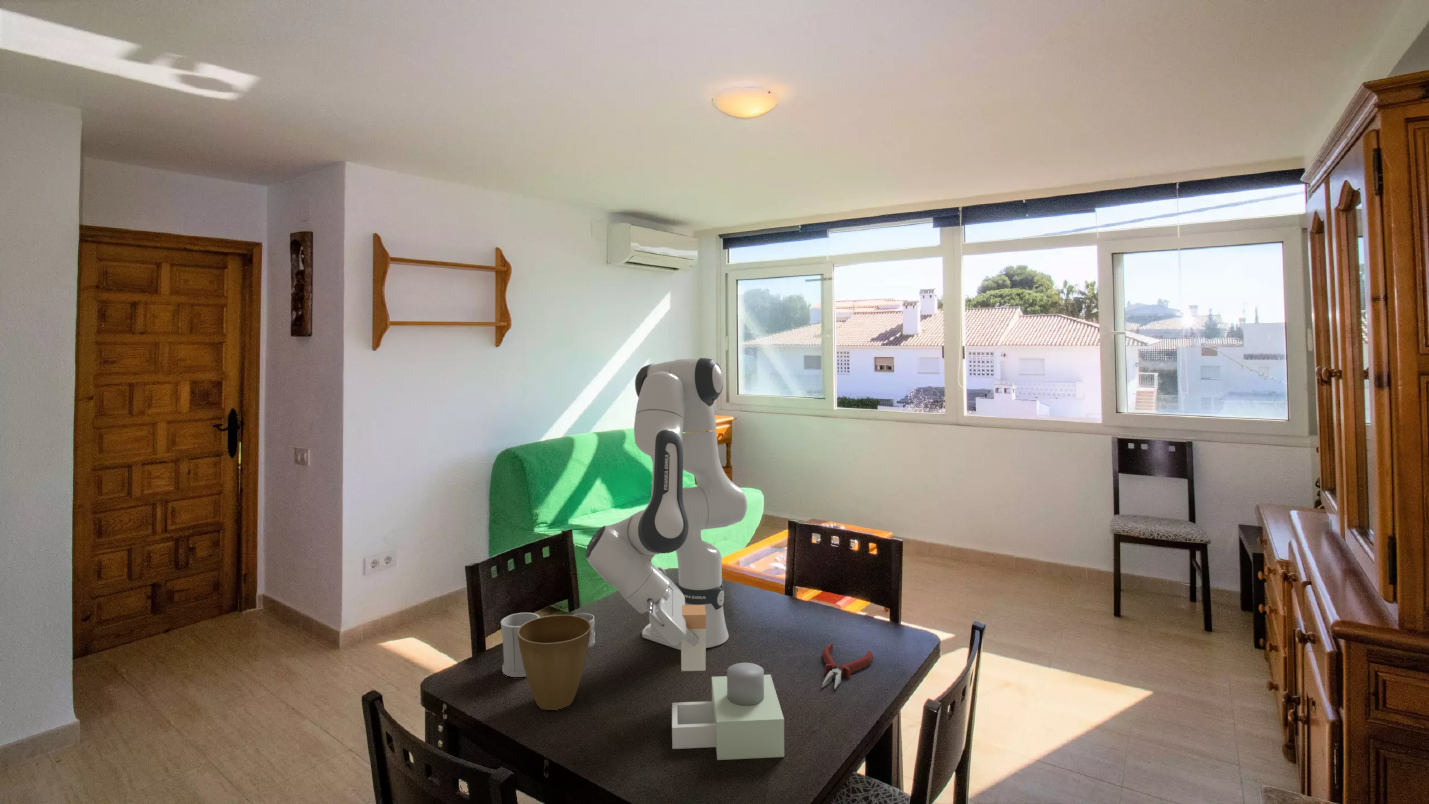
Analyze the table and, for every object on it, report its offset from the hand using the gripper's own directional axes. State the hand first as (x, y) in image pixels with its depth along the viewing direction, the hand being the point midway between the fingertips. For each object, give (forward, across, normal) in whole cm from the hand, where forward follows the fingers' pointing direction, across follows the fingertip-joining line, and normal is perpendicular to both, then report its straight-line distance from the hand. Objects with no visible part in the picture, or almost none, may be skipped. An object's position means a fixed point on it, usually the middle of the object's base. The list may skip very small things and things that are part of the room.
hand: (696, 635), depth 140 cm
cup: (-17, +15, +38) cm, 44 cm away
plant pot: (-11, 0, +31) cm, 32 cm away
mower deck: (+13, -14, +6) cm, 20 cm away
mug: (-10, +30, +31) cm, 45 cm away
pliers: (+33, +11, -13) cm, 37 cm away
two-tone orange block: (+4, 0, +5) cm, 6 cm away
